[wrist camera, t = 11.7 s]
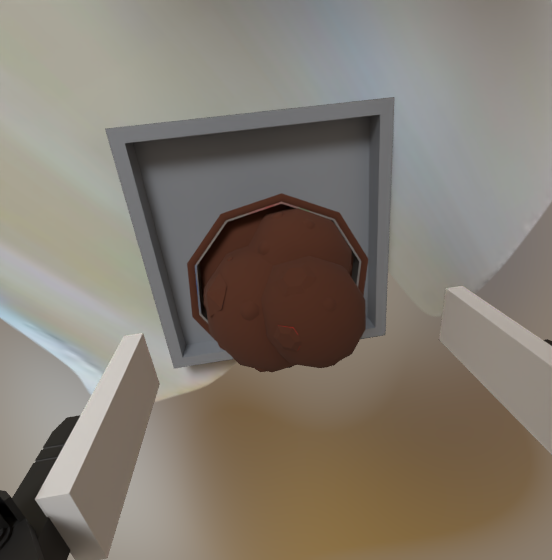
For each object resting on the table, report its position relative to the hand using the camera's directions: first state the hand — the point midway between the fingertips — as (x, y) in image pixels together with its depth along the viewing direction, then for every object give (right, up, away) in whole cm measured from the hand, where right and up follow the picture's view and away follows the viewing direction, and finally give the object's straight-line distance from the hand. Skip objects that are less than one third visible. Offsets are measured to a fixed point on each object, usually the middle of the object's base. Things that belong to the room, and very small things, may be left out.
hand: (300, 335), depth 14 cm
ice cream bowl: (-2, +6, +14) cm, 15 cm away
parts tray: (-2, +6, +15) cm, 16 cm away
